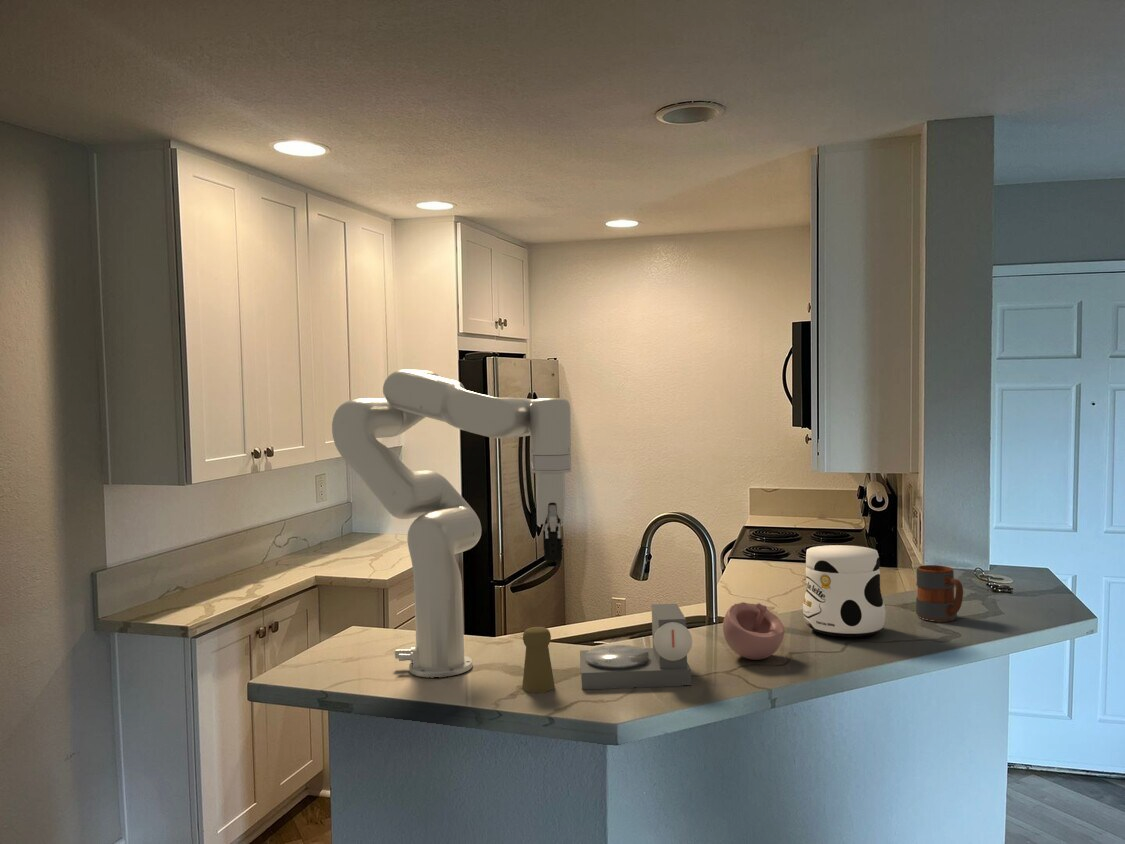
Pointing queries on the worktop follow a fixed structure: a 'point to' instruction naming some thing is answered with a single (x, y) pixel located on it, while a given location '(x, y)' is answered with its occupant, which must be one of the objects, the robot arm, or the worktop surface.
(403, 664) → the worktop surface
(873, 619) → the milk container
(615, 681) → the scale
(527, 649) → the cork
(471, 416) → the robot arm
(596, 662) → the scale pan
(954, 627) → the worktop surface
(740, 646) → the mortar and pestle
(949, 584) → the mug
